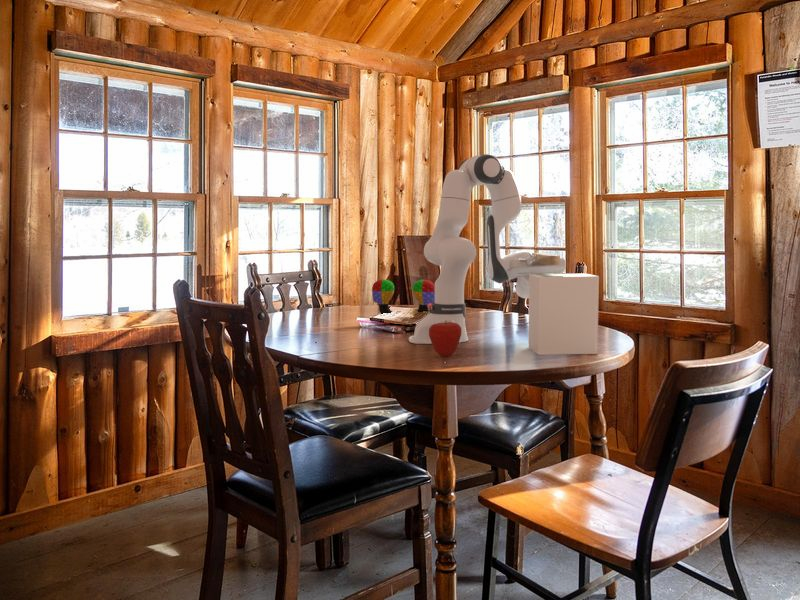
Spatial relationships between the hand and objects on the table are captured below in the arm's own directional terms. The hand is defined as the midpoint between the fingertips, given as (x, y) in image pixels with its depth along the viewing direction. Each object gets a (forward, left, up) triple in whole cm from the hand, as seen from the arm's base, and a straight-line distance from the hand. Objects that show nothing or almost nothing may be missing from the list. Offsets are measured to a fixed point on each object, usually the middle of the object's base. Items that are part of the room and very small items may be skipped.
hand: (541, 256), depth 243 cm
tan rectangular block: (0, -5, -2) cm, 6 cm away
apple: (-36, -16, -32) cm, 51 cm away
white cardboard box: (+5, -10, -32) cm, 34 cm away
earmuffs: (-46, +60, -32) cm, 82 cm away
